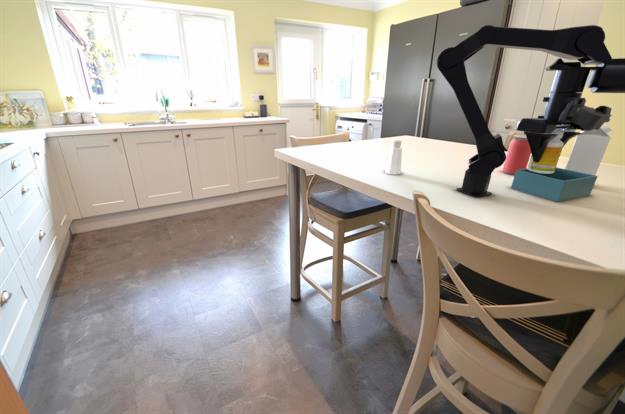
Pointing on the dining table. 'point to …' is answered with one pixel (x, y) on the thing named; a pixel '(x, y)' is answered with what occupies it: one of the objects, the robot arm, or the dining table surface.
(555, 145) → the supplement bottle
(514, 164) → the beer can
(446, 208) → the dining table surface
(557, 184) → the bin
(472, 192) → the robot arm
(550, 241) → the dining table surface
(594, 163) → the milk carton
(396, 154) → the salt shaker
